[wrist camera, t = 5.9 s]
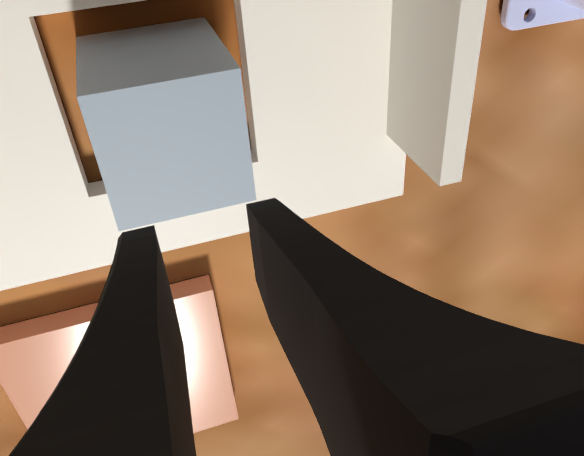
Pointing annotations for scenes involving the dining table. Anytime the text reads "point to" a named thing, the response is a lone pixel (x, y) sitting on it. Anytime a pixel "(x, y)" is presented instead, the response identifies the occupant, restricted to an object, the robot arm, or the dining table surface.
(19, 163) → the puzzle board
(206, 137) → the slate block
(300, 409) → the dining table surface
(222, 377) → the salmon pink tile
